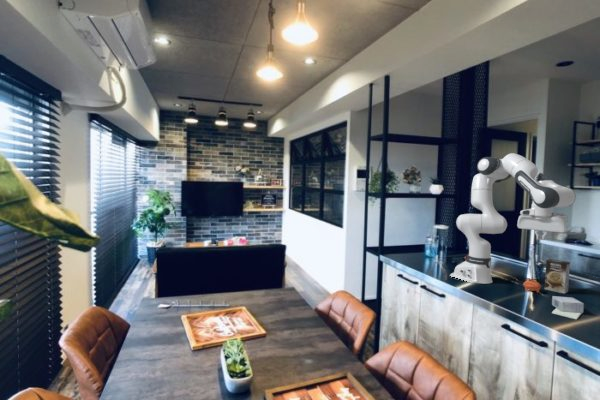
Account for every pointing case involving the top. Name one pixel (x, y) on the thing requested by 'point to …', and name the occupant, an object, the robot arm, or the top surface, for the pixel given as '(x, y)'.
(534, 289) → the pot
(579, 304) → the medicine box
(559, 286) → the coffee box
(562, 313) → the sage mat
